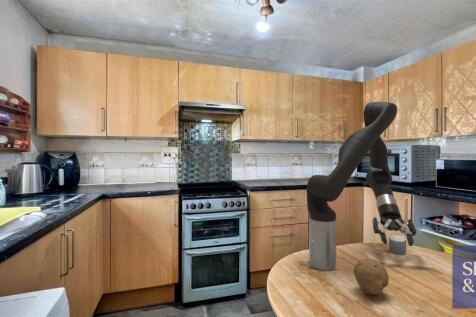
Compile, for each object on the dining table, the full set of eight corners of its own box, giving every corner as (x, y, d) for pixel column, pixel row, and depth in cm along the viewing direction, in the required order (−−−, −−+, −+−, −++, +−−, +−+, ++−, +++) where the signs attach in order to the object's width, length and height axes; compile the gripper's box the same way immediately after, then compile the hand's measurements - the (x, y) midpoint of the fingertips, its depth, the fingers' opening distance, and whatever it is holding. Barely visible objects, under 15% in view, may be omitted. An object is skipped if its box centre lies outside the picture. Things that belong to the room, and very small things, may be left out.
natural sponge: (368, 282, 78) (368, 251, 78) (396, 297, 70) (396, 262, 70) (347, 288, 74) (347, 256, 74) (373, 305, 66) (373, 268, 66)
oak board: (372, 264, 91) (372, 262, 91) (364, 253, 102) (364, 251, 102) (434, 270, 86) (434, 267, 86) (419, 258, 97) (419, 255, 97)
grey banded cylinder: (391, 261, 92) (391, 237, 92) (386, 255, 97) (386, 232, 97) (408, 262, 90) (408, 238, 90) (402, 256, 96) (402, 233, 96)
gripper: (370, 201, 103) (379, 238, 91) (409, 203, 99) (423, 241, 88) (367, 211, 108) (375, 247, 97) (404, 213, 104) (416, 250, 93)
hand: (398, 244), depth 92 cm, fingers open, 8 cm apart
